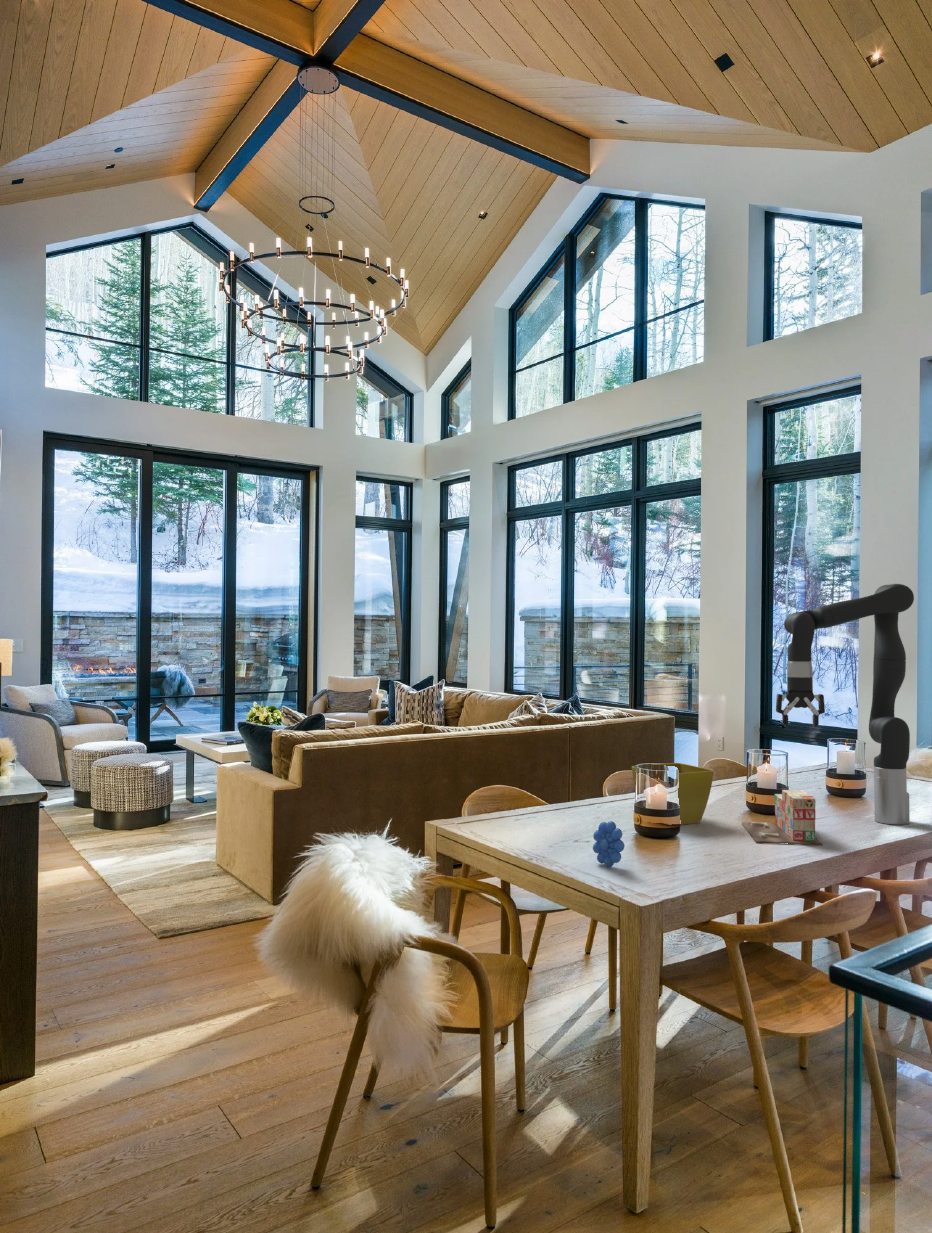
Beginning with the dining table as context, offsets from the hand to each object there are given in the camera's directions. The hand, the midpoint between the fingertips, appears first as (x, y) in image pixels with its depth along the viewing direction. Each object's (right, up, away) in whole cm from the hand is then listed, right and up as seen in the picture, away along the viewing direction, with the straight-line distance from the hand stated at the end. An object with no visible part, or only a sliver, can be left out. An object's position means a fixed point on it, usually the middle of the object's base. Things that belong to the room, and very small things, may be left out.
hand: (800, 726), depth 262 cm
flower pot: (-40, -31, +3) cm, 50 cm away
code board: (-13, -30, -16) cm, 36 cm away
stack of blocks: (-8, -29, -16) cm, 34 cm away
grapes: (-69, -30, -49) cm, 89 cm away
